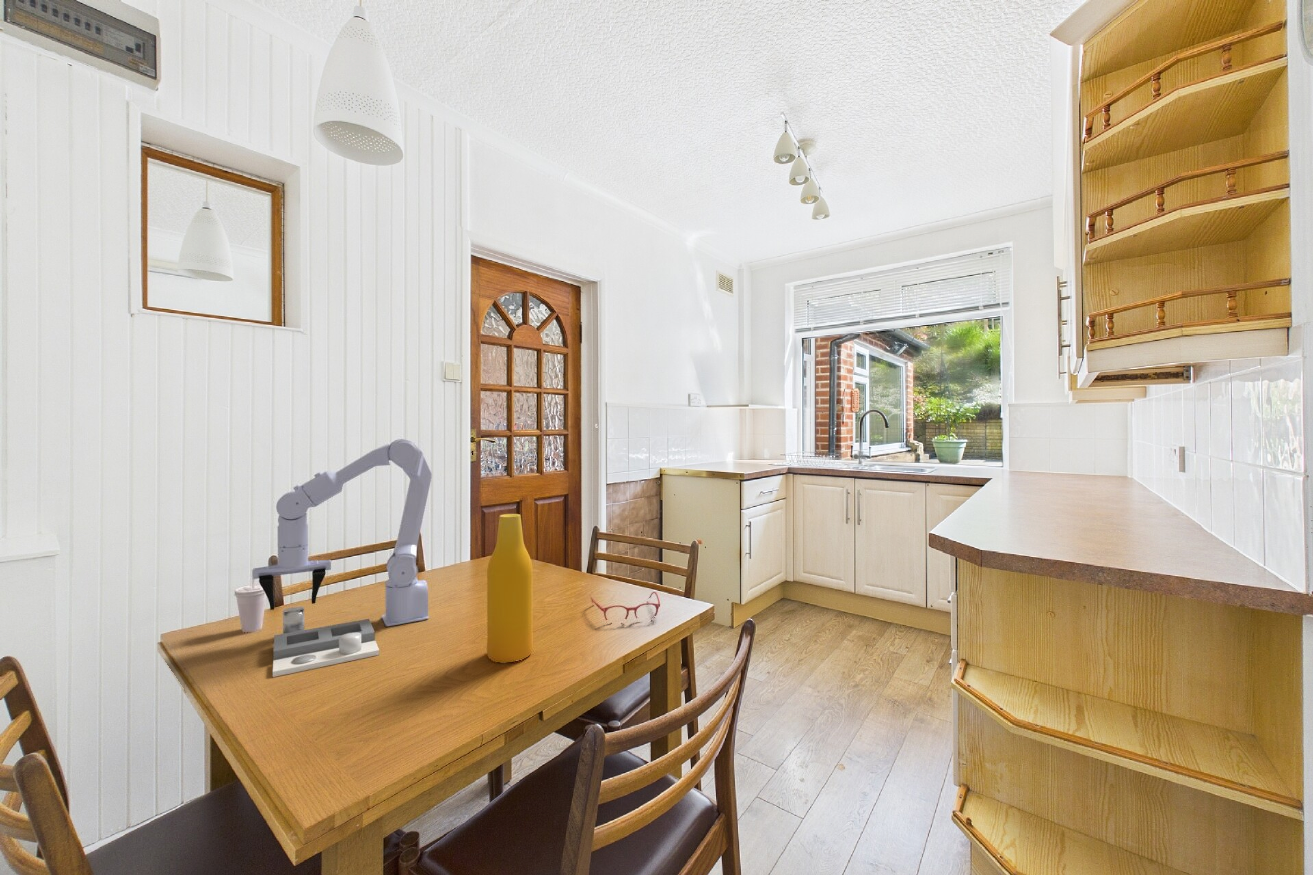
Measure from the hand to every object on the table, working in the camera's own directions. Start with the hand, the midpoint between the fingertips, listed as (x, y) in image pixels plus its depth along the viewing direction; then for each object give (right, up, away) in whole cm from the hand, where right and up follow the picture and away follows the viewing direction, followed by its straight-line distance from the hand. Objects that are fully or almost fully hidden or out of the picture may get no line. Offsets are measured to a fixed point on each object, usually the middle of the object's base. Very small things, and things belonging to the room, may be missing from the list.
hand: (293, 605), depth 122 cm
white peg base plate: (+15, -7, -12) cm, 21 cm away
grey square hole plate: (+10, -7, -5) cm, 13 cm away
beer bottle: (+51, -8, -10) cm, 53 cm away
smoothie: (-12, -7, +4) cm, 15 cm away
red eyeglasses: (+74, -8, +16) cm, 76 cm away
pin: (0, -7, 0) cm, 7 cm away
